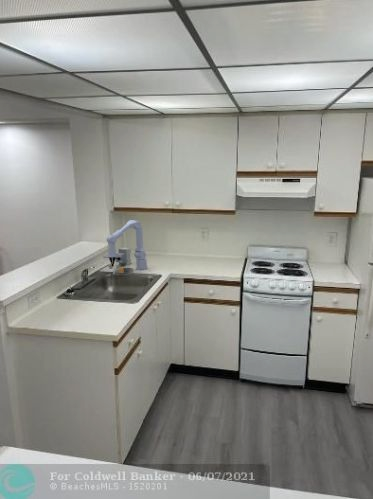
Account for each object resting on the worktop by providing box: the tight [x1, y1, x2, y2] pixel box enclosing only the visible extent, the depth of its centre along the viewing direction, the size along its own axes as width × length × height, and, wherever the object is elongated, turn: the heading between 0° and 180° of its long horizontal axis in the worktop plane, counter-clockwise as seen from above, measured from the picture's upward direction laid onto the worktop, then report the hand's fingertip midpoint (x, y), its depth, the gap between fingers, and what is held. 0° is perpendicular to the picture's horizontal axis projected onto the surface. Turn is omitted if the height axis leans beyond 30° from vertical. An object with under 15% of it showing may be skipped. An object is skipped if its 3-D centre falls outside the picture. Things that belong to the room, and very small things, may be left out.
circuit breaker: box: [115, 246, 132, 267], centre depth 325 cm, size 8×14×15 cm, turn 152°
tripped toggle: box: [119, 266, 125, 273], centre depth 296 cm, size 4×3×4 cm
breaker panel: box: [112, 264, 134, 277], centre depth 303 cm, size 16×18×4 cm
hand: (112, 266), depth 295 cm, fingers closed
